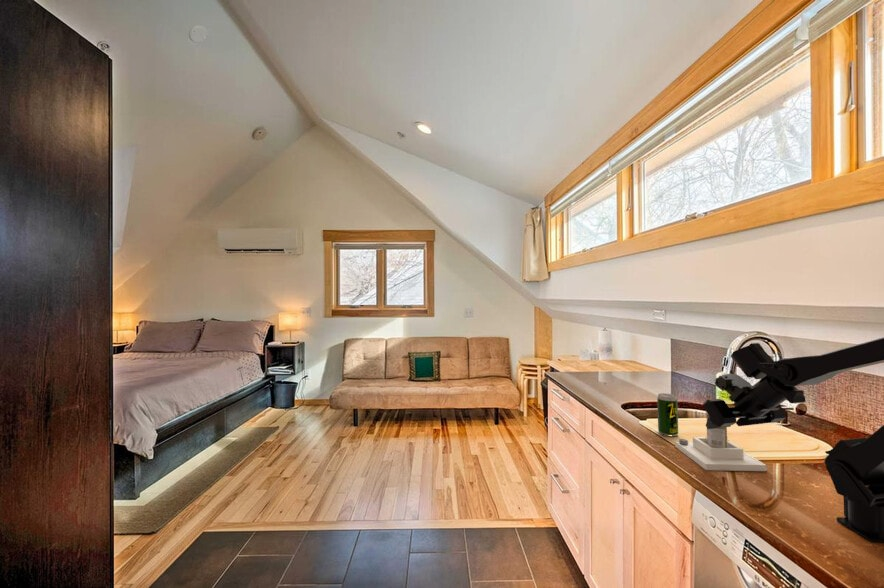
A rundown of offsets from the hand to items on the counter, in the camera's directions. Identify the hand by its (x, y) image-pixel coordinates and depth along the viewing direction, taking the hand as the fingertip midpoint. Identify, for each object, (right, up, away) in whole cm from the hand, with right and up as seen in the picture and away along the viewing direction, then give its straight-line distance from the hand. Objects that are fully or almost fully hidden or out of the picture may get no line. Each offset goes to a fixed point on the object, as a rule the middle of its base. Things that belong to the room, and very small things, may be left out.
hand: (722, 425), depth 96 cm
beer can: (-2, -9, +19) cm, 21 cm away
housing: (0, -9, +2) cm, 9 cm away
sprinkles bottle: (0, -9, +2) cm, 10 cm away
